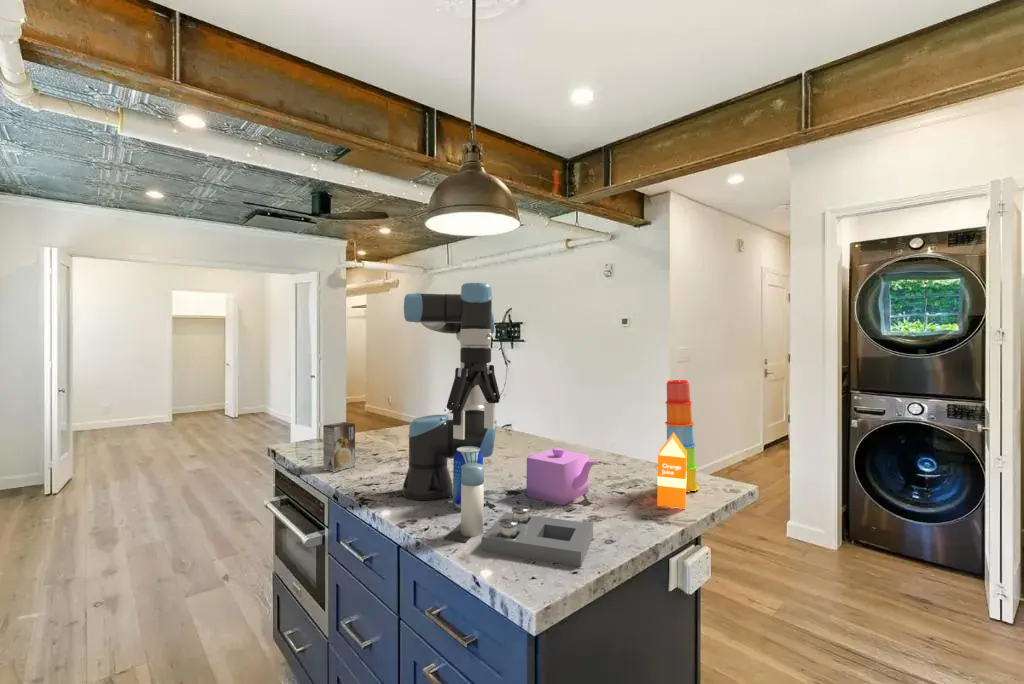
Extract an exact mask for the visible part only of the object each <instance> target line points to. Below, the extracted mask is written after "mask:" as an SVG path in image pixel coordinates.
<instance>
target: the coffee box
mask: <svg viewBox="0 0 1024 684" xmlns="http://www.w3.org/2000/svg"><path fill="white" fill-rule="evenodd" d="M322 427H323V428H322V429H323V470H324V469H326V470H330V471H338V470H341V471H343V470H342V469H345V468H349V467H352V466H355V467H356V423H354V422H348V421H343V422H337V423H331V424H330V423H329V424H324V425H323V426H322ZM352 468H353V467H352ZM349 469H350V468H349ZM326 470H325V471H326ZM345 470H346V469H345ZM330 471H329V472H330ZM338 472H339V471H338Z"/></svg>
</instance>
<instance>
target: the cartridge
mask: <svg viewBox="0 0 1024 684" xmlns="http://www.w3.org/2000/svg"><path fill="white" fill-rule="evenodd" d="M484 472H485V465H484V464H483V465H482V464H478V463H468V464H464V465H462V466H461V509H460V523H461V534H462V535H463V536H466V537H471V538H473V537H479V536H482V534H483V533H484V502H485V501H484V500H485V499H484V497H485V496H484V490H485V489H484V488H485V485H484V484H485V477H484V476H485V473H484Z"/></svg>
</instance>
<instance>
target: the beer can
mask: <svg viewBox="0 0 1024 684" xmlns="http://www.w3.org/2000/svg"><path fill="white" fill-rule="evenodd" d="M452 459H453V460H452V462H453V463H452V464H453V469H452V474H453V475H452V479H453V480H452V484H453V492H452V502H453V504H454V505H455V507H456V508H457V509H460V510H461V466H462V465H464V464H468V463H478V464H482V465H484V457H483V455H482V454H481V452H480V448H478V447H472V446H466V447H460V448H457V452H456V453H455V455H454V457H453V458H452Z"/></svg>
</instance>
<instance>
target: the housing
mask: <svg viewBox="0 0 1024 684" xmlns="http://www.w3.org/2000/svg"><path fill="white" fill-rule="evenodd" d="M505 518H511V519H513V512H510V511H509V512H508V511H506V512H504V513H503V515H501V516H500V517H499V518H498V519H497V520H496V521H495V523H494V524H492V526H491V527H490V528H488V530H487V531H486V532H485V533H484V534H483V535H481V552H486V553H487V552H488V553H494V554H500V555H506V556H511V557H517V558H518V557H519V558H522V559H523V558H526V559H528V560H529V559H532V560H535V561H536V560H537V561H541V562H542V561H543V562H548V563H554V564H561V565H568V566H573V567H578V568H579V567H582V566H583V563H584V560H585V557H586V556H587V553H588V550H589V547H590V545H591V542H592V540H593V537H594V523H592V522H591V523H590V522H584V521H576V520H567V519H561V518H554V517H553V518H551V517H546V516H537V515H531V514H530V515H529V514H528V523H527V524H522V523H518V525H517V530H516V538H515V539H510V538H503V537H500V525H499V521H500V520H501V519H505Z"/></svg>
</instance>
